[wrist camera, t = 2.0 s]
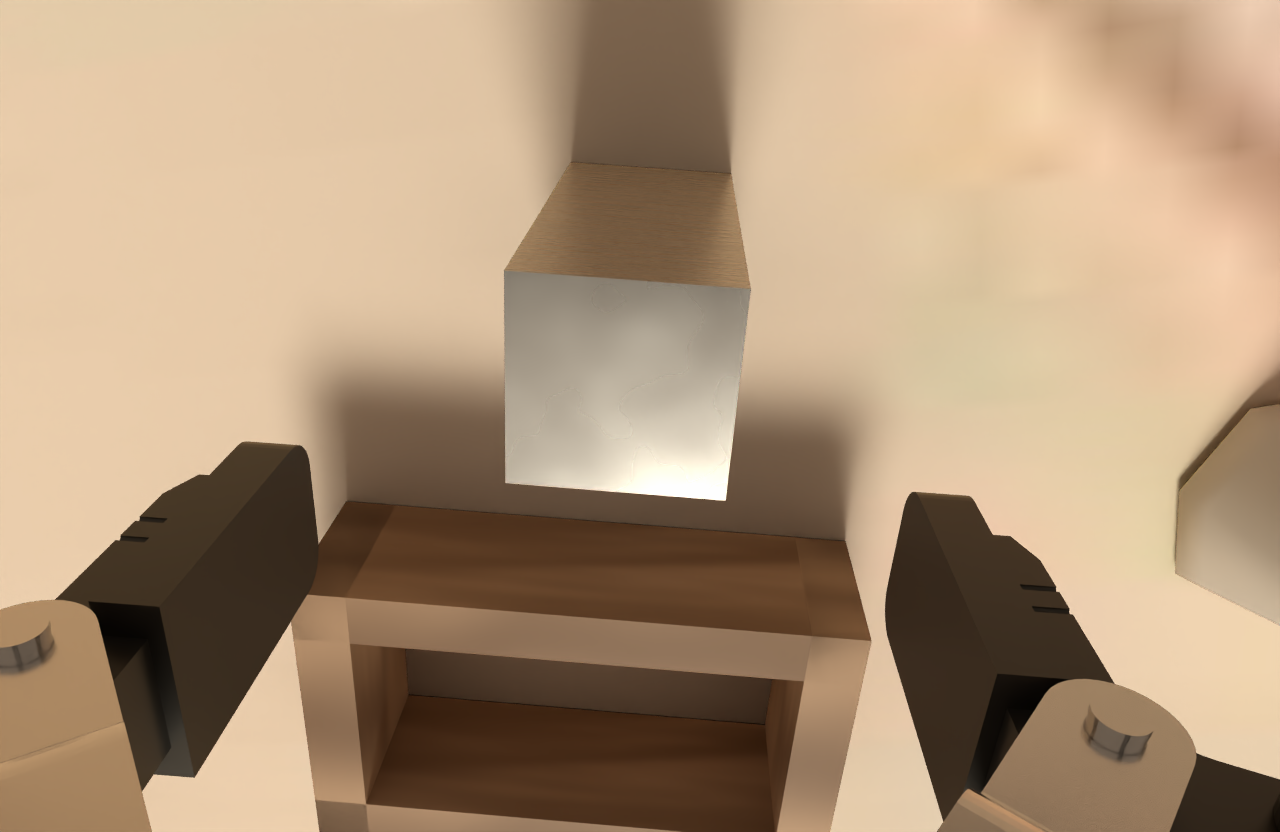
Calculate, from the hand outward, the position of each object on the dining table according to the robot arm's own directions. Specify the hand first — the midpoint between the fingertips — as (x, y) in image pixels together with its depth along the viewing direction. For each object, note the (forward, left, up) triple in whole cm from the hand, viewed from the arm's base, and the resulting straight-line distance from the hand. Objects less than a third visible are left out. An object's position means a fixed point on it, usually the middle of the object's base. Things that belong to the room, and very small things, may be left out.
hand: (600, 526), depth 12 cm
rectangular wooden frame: (+13, -1, -13) cm, 18 cm away
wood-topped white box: (0, 0, -13) cm, 13 cm away
